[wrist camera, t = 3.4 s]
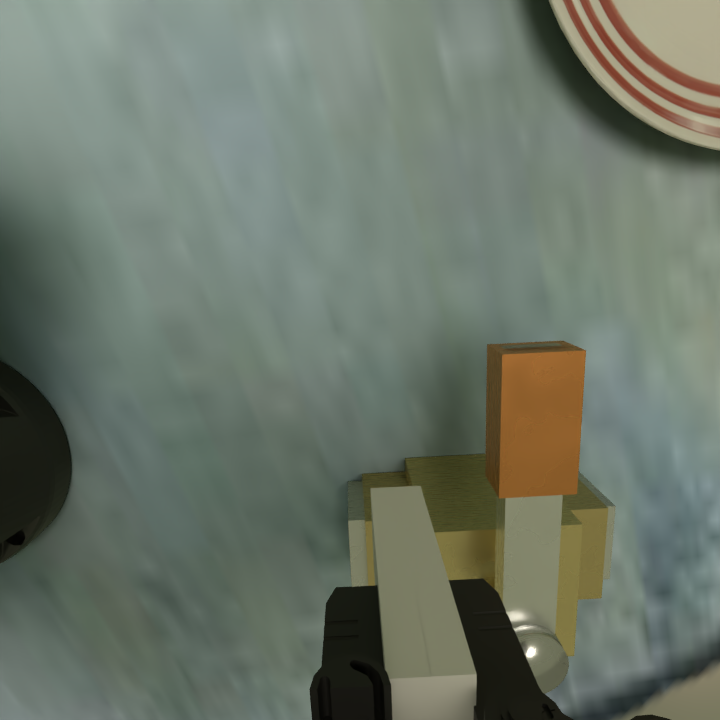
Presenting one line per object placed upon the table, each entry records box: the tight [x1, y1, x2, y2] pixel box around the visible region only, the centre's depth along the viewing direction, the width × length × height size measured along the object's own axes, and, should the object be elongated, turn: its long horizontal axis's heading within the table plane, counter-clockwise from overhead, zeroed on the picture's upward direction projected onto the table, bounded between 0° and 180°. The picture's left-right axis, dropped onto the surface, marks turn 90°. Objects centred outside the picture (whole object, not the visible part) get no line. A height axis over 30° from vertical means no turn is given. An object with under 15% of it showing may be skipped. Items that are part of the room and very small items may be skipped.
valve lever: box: [485, 341, 586, 693], centre depth 22 cm, size 3×16×4 cm, turn 3°
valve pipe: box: [348, 454, 615, 656], centre depth 30 cm, size 16×8×9 cm, turn 93°
